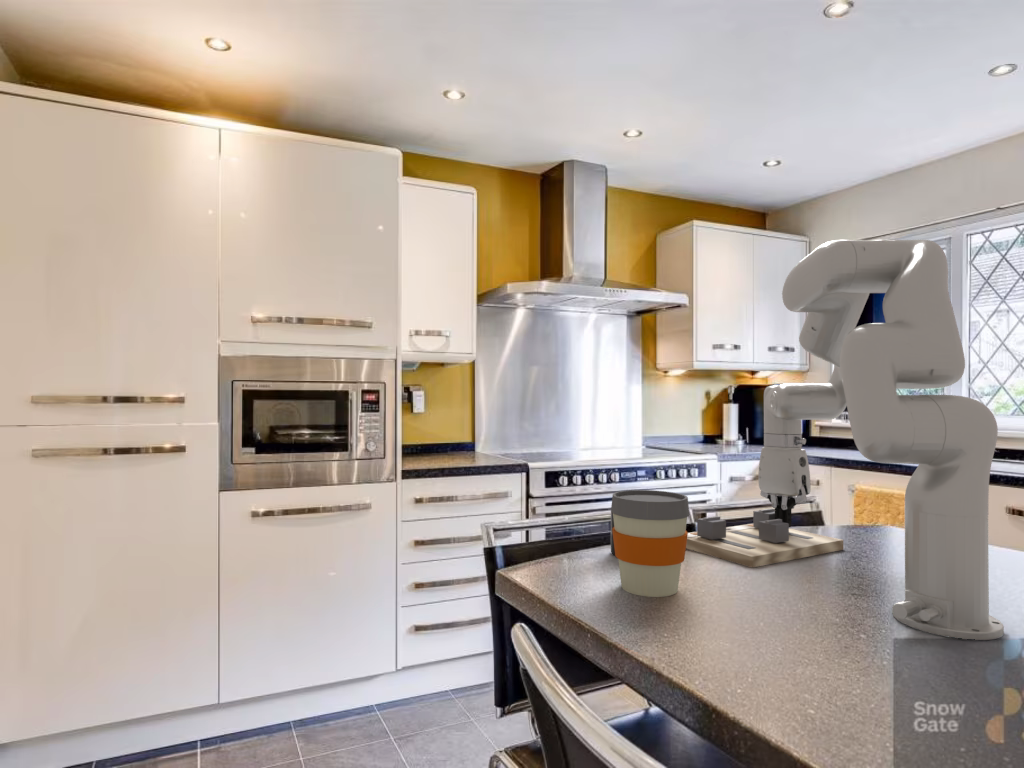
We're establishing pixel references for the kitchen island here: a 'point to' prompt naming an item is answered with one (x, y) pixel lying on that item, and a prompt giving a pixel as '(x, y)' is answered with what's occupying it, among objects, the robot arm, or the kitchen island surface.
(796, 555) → the switch panel
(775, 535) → the switch tab
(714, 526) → the switch tab
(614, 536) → the reusable coffee cup
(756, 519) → the switch tab
